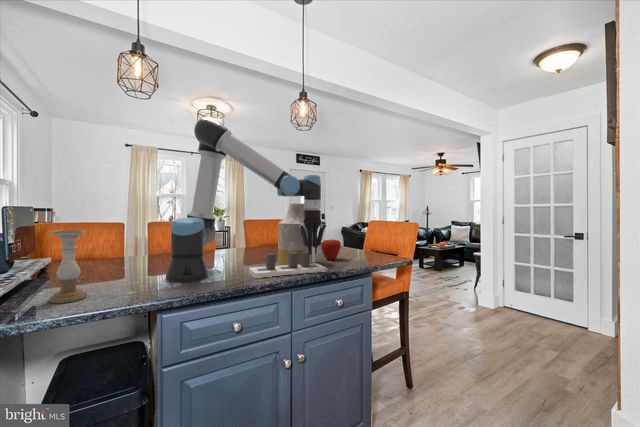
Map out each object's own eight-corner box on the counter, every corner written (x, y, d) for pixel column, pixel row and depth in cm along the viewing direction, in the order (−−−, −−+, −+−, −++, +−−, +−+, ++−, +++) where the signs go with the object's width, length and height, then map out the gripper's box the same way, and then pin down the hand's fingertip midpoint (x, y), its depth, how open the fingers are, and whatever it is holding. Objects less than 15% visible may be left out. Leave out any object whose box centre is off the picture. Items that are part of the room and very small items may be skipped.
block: (268, 269, 124) (268, 255, 124) (266, 267, 127) (266, 253, 127) (275, 268, 125) (275, 254, 125) (272, 267, 128) (273, 253, 128)
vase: (308, 268, 138) (309, 203, 137) (271, 266, 143) (272, 202, 142) (318, 262, 156) (319, 204, 155) (286, 259, 160) (286, 203, 160)
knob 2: (290, 267, 128) (291, 253, 128) (288, 266, 131) (288, 252, 131) (297, 267, 129) (297, 253, 129) (294, 265, 133) (294, 252, 133)
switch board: (254, 278, 117) (254, 272, 117) (248, 272, 128) (248, 266, 128) (327, 272, 131) (327, 267, 131) (316, 267, 142) (316, 262, 142)
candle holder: (44, 299, 87) (44, 230, 87) (81, 293, 94) (81, 229, 94) (54, 305, 82) (54, 232, 82) (92, 298, 89) (92, 231, 89)
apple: (331, 257, 170) (332, 236, 170) (344, 260, 162) (345, 238, 162) (316, 259, 163) (317, 237, 163) (329, 262, 155) (330, 239, 155)
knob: (303, 266, 131) (303, 253, 130) (300, 265, 134) (300, 252, 134) (309, 266, 132) (309, 252, 132) (306, 264, 135) (306, 251, 135)
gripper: (302, 209, 128) (302, 264, 128) (328, 209, 133) (328, 261, 134) (296, 209, 134) (296, 261, 135) (321, 209, 140) (321, 259, 140)
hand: (312, 261), depth 134 cm, fingers closed
